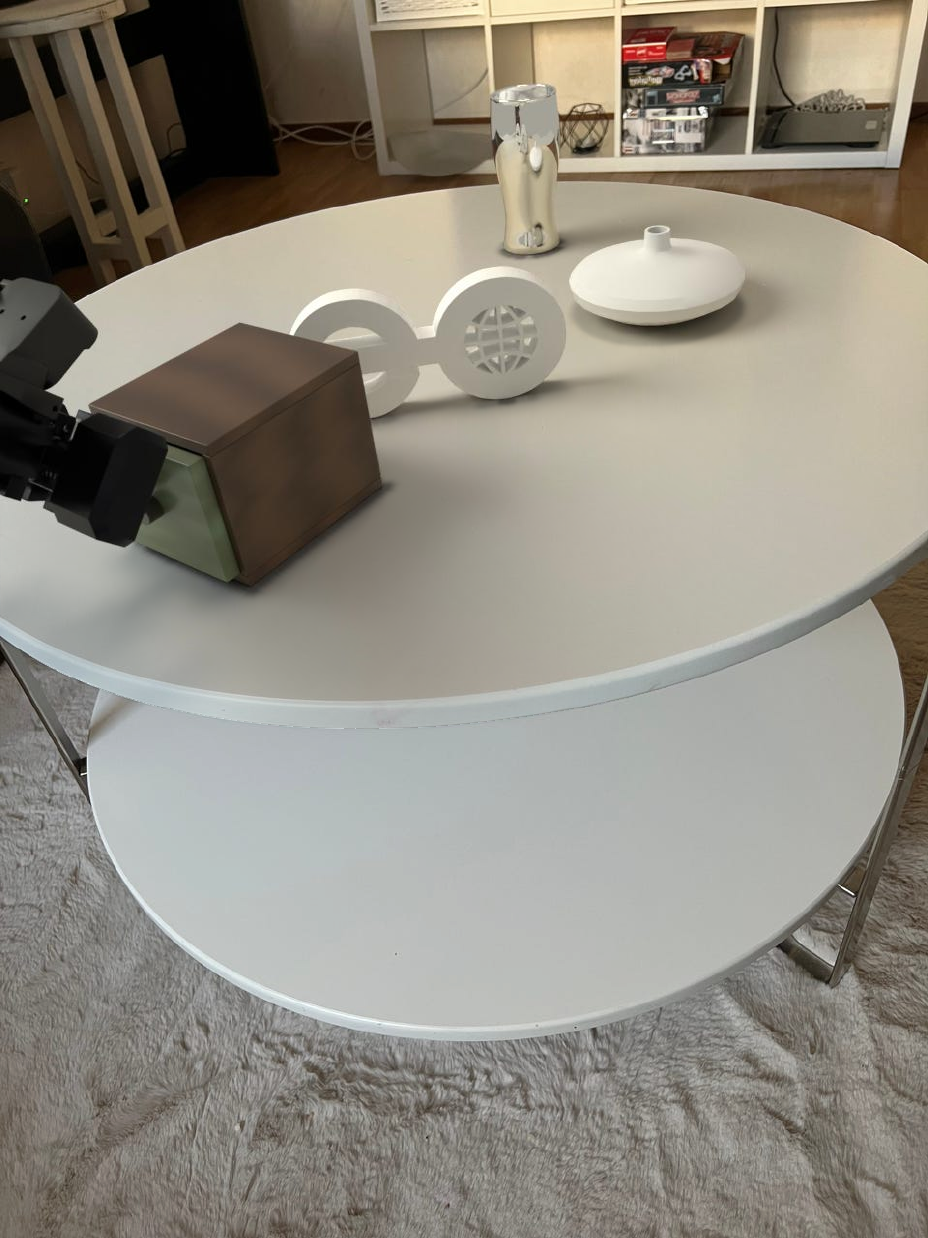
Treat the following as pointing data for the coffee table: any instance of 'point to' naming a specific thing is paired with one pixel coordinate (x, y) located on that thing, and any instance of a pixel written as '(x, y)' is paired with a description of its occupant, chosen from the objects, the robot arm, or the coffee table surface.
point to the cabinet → (263, 434)
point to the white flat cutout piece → (448, 336)
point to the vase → (657, 279)
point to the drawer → (188, 517)
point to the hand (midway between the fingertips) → (145, 488)
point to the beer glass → (527, 164)
